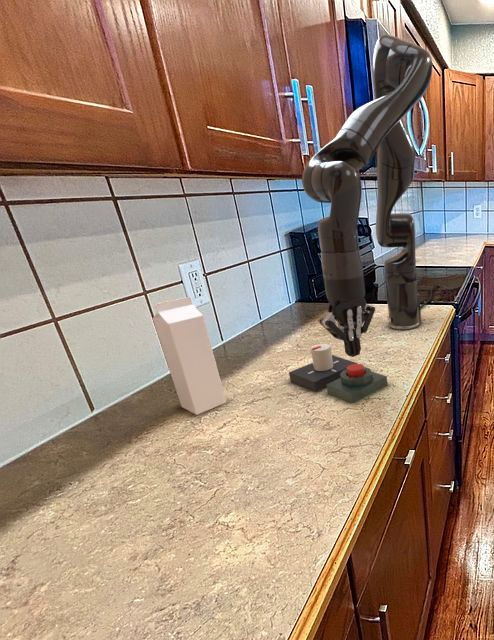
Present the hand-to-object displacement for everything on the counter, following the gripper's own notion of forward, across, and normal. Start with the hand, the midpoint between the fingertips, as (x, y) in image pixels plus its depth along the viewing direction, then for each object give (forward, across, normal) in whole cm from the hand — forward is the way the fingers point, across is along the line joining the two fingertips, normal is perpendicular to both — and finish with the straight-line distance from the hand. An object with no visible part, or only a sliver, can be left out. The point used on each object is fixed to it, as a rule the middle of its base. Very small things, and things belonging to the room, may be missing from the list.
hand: (353, 354), depth 89 cm
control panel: (+8, 0, +11) cm, 14 cm away
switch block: (+8, 0, 0) cm, 8 cm away
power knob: (+6, 0, +11) cm, 12 cm away
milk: (+8, -22, +21) cm, 32 cm away
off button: (+5, 0, 0) cm, 5 cm away
